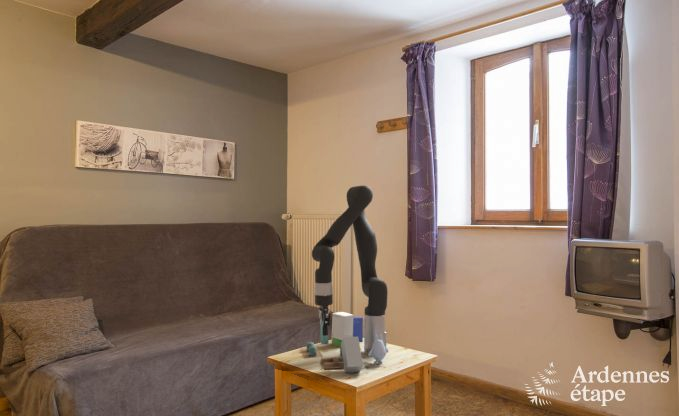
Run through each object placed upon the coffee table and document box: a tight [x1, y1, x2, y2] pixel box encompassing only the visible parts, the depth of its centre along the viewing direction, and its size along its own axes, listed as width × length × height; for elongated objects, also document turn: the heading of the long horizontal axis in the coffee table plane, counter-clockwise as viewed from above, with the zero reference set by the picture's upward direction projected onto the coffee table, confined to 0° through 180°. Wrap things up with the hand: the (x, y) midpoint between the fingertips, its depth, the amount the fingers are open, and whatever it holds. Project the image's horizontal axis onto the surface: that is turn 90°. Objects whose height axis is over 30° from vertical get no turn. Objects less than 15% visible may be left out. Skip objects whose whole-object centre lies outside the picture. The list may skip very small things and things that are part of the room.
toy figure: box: [367, 334, 389, 365], centre depth 195 cm, size 11×6×12 cm, turn 125°
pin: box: [319, 321, 329, 345], centre depth 197 cm, size 3×3×9 cm
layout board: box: [299, 341, 324, 359], centre depth 205 cm, size 8×13×5 cm, turn 13°
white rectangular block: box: [341, 337, 364, 374], centre depth 185 cm, size 6×12×6 cm
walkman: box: [353, 315, 364, 343], centre depth 229 cm, size 8×3×12 cm, turn 96°
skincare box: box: [330, 311, 354, 347], centre depth 220 cm, size 8×7×16 cm
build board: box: [320, 343, 345, 371], centre depth 191 cm, size 11×8×9 cm
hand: (324, 333), depth 197 cm, fingers closed on pin, 3 cm apart
